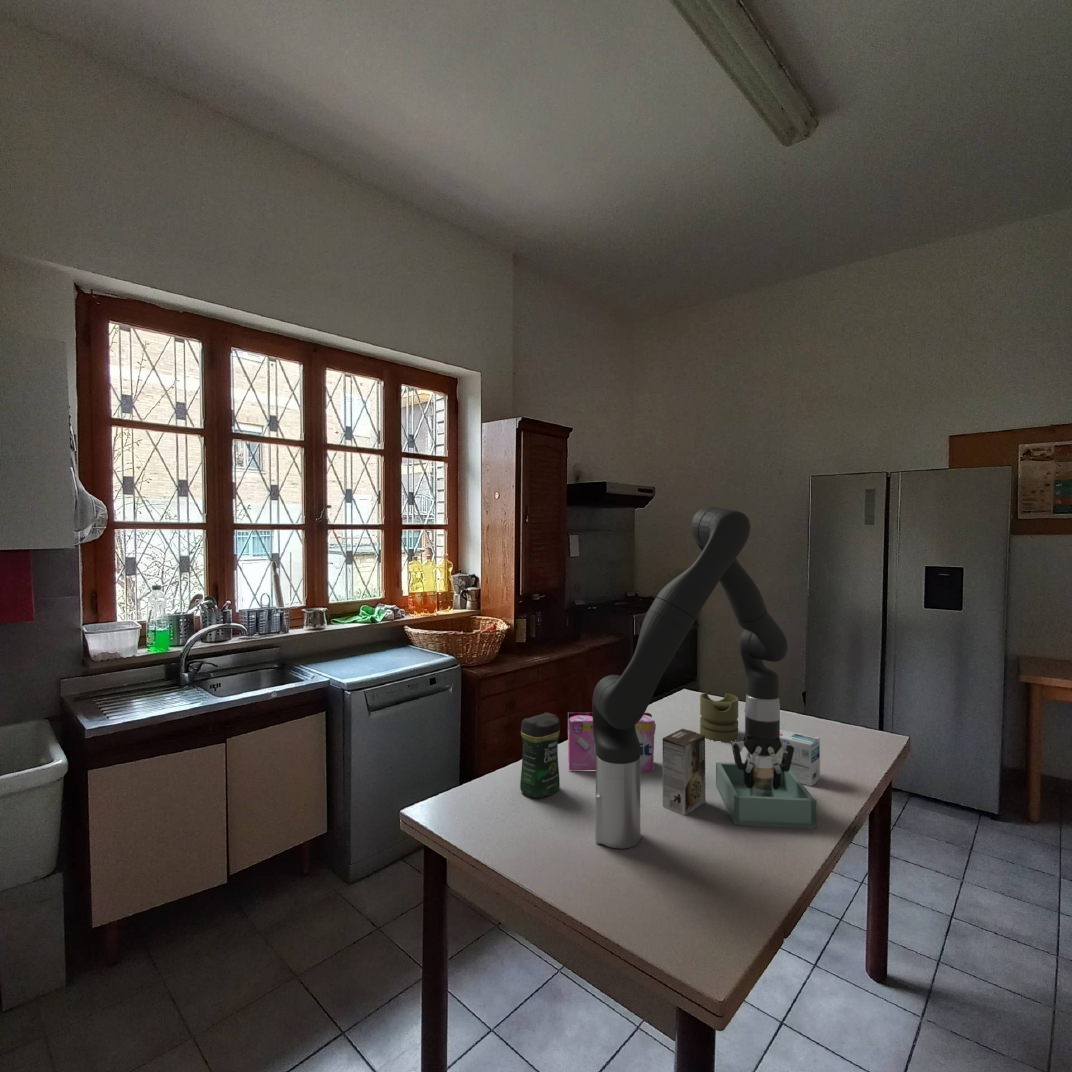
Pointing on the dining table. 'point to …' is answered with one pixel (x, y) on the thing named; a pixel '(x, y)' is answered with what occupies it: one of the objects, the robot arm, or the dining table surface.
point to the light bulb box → (802, 756)
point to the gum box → (584, 744)
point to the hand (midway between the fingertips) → (761, 787)
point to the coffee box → (683, 771)
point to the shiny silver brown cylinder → (762, 776)
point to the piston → (719, 718)
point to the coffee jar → (540, 755)
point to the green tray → (765, 800)
